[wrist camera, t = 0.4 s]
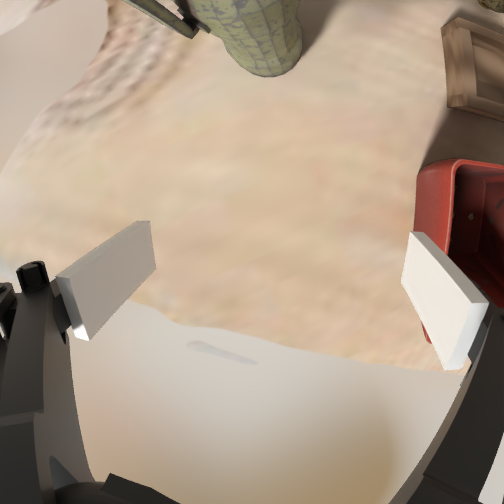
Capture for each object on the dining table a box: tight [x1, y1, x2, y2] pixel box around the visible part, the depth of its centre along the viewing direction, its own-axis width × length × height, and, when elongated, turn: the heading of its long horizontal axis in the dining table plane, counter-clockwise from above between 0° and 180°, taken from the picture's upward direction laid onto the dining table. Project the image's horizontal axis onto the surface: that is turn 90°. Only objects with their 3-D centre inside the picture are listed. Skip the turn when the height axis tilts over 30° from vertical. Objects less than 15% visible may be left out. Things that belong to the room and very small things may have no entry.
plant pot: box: [413, 159, 504, 344], centre depth 30 cm, size 19×19×17 cm
